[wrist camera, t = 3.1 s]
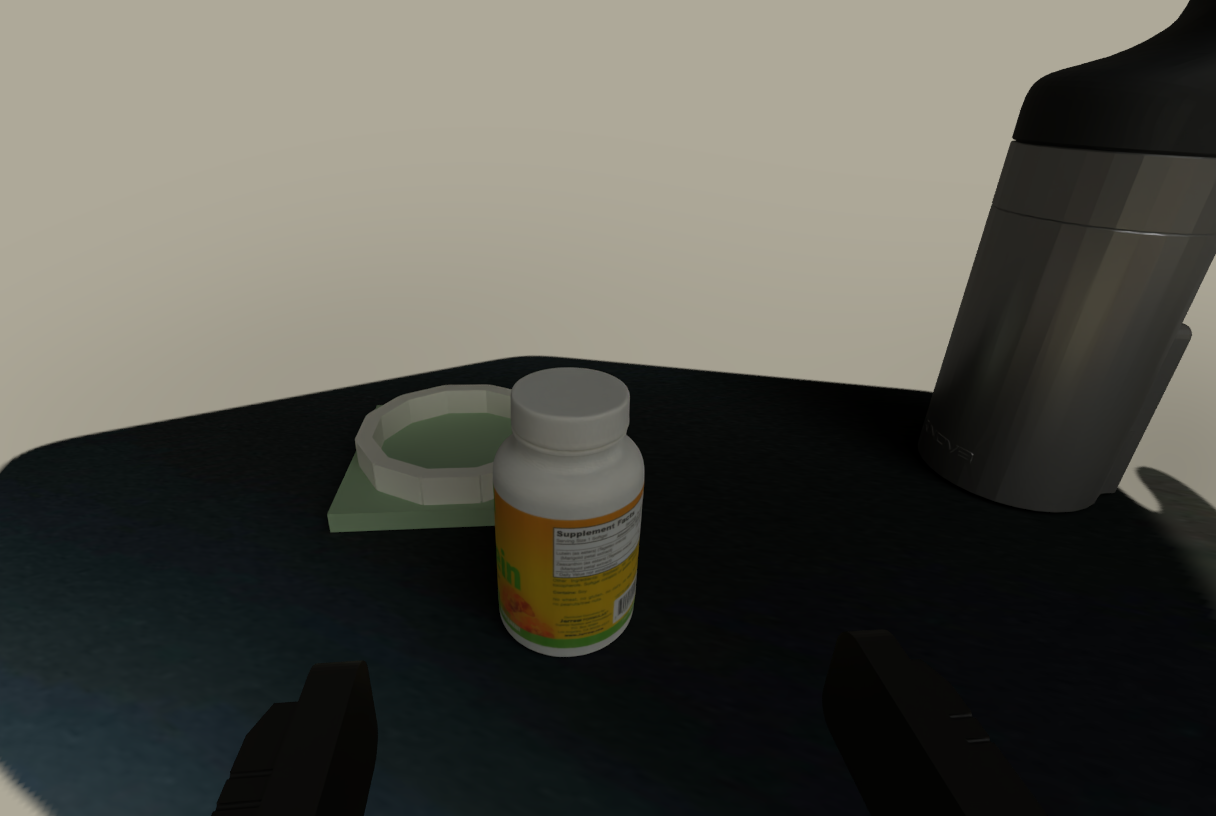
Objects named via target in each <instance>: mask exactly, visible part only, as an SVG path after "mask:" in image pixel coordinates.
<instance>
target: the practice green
mask: <svg viewBox="0 0 1216 816" xmlns="http://www.w3.org/2000/svg"><path fill="white" fill-rule="evenodd" d="M511 434H512V429H511V389H507V388H503V387H498V386H494V385H490V386H489V385H445V386H444V385H443V386H438V387H434V388H430V389H426V390H421V391H417V392H413V393H409V394H404V395H401V396H398V397H397V398H395V399H393V400H391V401H390V402H388V403H386V404H384V405H377V407H376V409H375V410H374V411H372V412H371V413H369V414H367V415H366V417H365V419H364V421H363V423H362V425H361V427H360V430H359V432H358V434H357V436H356V438H355V444H356V452H355V455H354V457H353V459H352V461H351V463H350V466H349V468H348V470H347V472H346V474H345V477H344V479H343V481H342V483H341V485H340V487H339V490H338V492H337V494H336V496H335V498H334V501H333V503H332V505H331V507H330V509H329V512H328V514H327V517H328V522H329V527H330V532H351V531H375V530H400V529H424V528H448V527H473V526H495V515H494V496H493V462H494V458H495V455H496V452H497V450H498V448H499V447H500V446H501V444H502V443H503V442H504V440H505V439H507V438H508V437H509V436H510V435H511Z"/></svg>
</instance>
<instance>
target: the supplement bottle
mask: <svg viewBox="0 0 1216 816" xmlns="http://www.w3.org/2000/svg"><path fill="white" fill-rule="evenodd" d="M629 403H630V394H629V390H628V388H627V386H626V385H625V384H624V383H623V382H622V381H621V380H619V379H617V378H616V377H614V376H612V375H609V374H607V373H604V372H601V371H597V370H592V369H586V368H572V367H569V368H553V369H546V370H541V371H538V372H534V373H531V374H529V375H527V376H525V377H523V378H521V379H520V380H519V381H517V382H516V383H515V385H514V386H513V388H512V390H511V429H512V434H511V435H510V436H509V437H508V438H507V439H505V440H504V442H503V443H502V444H501V446H500V447H499V448H498V450H497V452H496V455H495V458H494V462H493V496H494V515H495V535H496V555H497V578H498V599H499V609H500V615H501V619H502V621H503V624H504V626H505V627H506V629H507V630H508V632H509V633H510V634H511V635H512V636H513V637H514V638H515V639H516V640H517V641H518V642H519V643H521V644H522V645H524V646H525V647H527V648H529V649H531V650H533V651H536V652H539V653H542V654H545V655H550V656H556V657H573V656H580V655H584V654H588V653H591V652H594V651H597V650H600V649H601V648H603V647H605V646H607V645H609V644H610V643H611V642H613V641H614V640H615V639H616V638H617V637H618V636H619V635H620V634H621V633H622V632H623V631H624V630H625V628H626V627H627V625H628V623H629V621H630V619H631V616H632V612H633V606H634V599H635V589H636V578H637V564H638V551H639V537H640V525H641V513H642V501H643V489H644V462H643V458H642V455H641V453H640V451H639V449H638V447H637V446H636V444H635V443H634V442H633V441H632V439H630V438H629V437H628V436H627V435H626V432H627V428H628V426H629Z"/></svg>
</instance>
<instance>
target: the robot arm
mask: <svg viewBox="0 0 1216 816" xmlns="http://www.w3.org/2000/svg"><path fill="white" fill-rule="evenodd" d="M1012 138H1013V139H1015V140H1016V141H1012V142H1011V143H1010V147H1009V150H1008V153H1007V156H1006V159H1005V163H1004V166H1003V169H1002V172H1001V176H1000V179H999V182H998V185H997V189H996V192H995V195H994V198H993V201H992V203H993V204H992V206H991V209H990V212H989V215H988V218H987V221H986V225H985V228H984V231H983V234H982V238H981V241H980V244H979V247H978V250H977V254H976V257H975V260H974V263H973V267H972V270H971V273H970V277H969V280H968V283H967V286H966V289H965V292H964V296H963V299H962V302H961V305H960V308H959V312H958V315H957V318H956V322H955V325H954V328H953V331H952V334H951V338H950V341H949V344H948V347H947V350H946V354H945V357H944V360H943V363H942V367H941V370H940V373H939V376H938V379H937V382H936V386H935V389H934V392H933V395H932V398H931V402H930V405H929V408H928V411H927V414H926V418H925V421H924V424H923V427H922V431H921V434H920V437H919V440H918V451H919V453H920V455H921V457H922V459H923V460H924V461H925V462H926V463H927V464H928V466H929V467H930V468H932V469H933V470H934V471H935V472H937V473H938V474H939V475H940V476H942V477H943V478H945V479H947V480H948V481H950V482H952V483H953V484H955V485H957V486H959V487H961V488H963V489H965V490H967V491H969V492H972V493H974V494H976V495H979V496H982V497H984V498H987V499H990V500H992V501H995V502H999V503H1003V504H1006V505H1010V506H1014V507H1018V508H1023V509H1029V510H1034V511H1044V512H1073V511H1077V510H1081V509H1085V508H1087V507H1089V506H1090V505H1092V504H1094V502H1095V501H1096V499H1097V497H1098V496H1099V495H1100V494H1103V493H1114V492H1115V491H1116V489H1117V487H1118V485H1119V483H1120V481H1121V479H1122V477H1123V475H1124V473H1125V471H1126V469H1127V467H1128V465H1129V463H1130V461H1131V459H1132V456H1133V454H1134V452H1135V450H1136V448H1137V446H1138V444H1139V442H1140V440H1141V438H1142V436H1143V434H1144V432H1145V430H1146V428H1147V426H1148V424H1149V422H1150V420H1151V418H1152V416H1153V414H1154V412H1155V410H1156V408H1157V406H1158V404H1159V402H1160V400H1161V398H1162V396H1163V394H1164V392H1165V390H1166V388H1167V386H1168V384H1169V382H1170V380H1171V378H1172V376H1173V374H1174V372H1175V370H1176V368H1177V366H1178V364H1179V362H1180V360H1181V358H1182V355H1183V353H1184V351H1185V349H1186V347H1187V345H1188V343H1189V341H1190V339H1191V336H1192V332H1191V329H1190V328H1189V326H1187V325H1185V324H1183V323H1182V322H1183V320H1184V318H1185V316H1186V314H1187V312H1188V310H1189V308H1190V306H1191V303H1192V302H1193V299H1194V297H1195V295H1196V293H1197V291H1198V289H1199V287H1200V285H1201V283H1202V281H1203V279H1204V277H1205V274H1206V272H1207V270H1208V268H1209V266H1210V264H1211V262H1212V260H1213V258H1214V256H1215V254H1216V0H1190V1H1189V3H1188V4H1187V6H1186V8H1185V9H1184V11H1183V12H1182V14H1181V15H1180V16H1179V18H1178V19H1177V20H1176V21H1175V22H1174V23H1173V24H1172V25H1171V26H1169V27H1168V28H1167V29H1165V30H1163V31H1162V32H1160V33H1158V34H1157V35H1155V36H1153V37H1152V38H1150V39H1148V40H1147V41H1145V42H1143V43H1141V44H1138V45H1136V46H1134V47H1132V48H1130V49H1127V50H1125V51H1122V52H1119V53H1117V54H1114V55H1112V56H1109V57H1106V58H1102V59H1098V60H1095V61H1091V62H1088V63H1084V64H1081V65H1077V66H1073V67H1070V68H1066V69H1062V70H1059V71H1056V72H1053V73H1050V74H1048V75H1046V76H1044V77H1042V78H1040V79H1039V80H1038V81H1037V82H1035V83H1034V84H1033V86H1032V87H1031V88H1030V90H1029V92H1028V93H1027V95H1026V97H1025V100H1024V102H1023V105H1022V107H1021V110H1020V114H1019V117H1018V120H1017V123H1016V127H1015V130H1014V133H1013V136H1012ZM822 704H823V711H824V716H825V720H826V723H827V726H828V728H829V731H830V733H831V735H832V737H833V739H834V741H835V743H836V745H837V747H838V749H839V751H840V753H841V755H842V757H843V759H844V761H845V763H846V765H847V767H848V770H849V772H850V774H851V776H852V778H853V780H854V782H855V784H856V786H857V788H858V790H859V792H860V794H861V796H862V798H863V800H864V802H865V804H866V806H867V808H868V810H869V812H870V814H871V816H1048V815H1047V814H1046V812H1045V811H1044V810H1043V808H1042V807H1041V806H1040V804H1039V803H1038V802H1037V800H1036V799H1035V798H1034V796H1033V795H1032V793H1031V792H1030V791H1029V789H1028V788H1027V787H1026V785H1025V784H1024V783H1023V781H1022V780H1021V779H1020V777H1019V776H1018V774H1017V773H1016V772H1015V770H1014V769H1013V768H1012V766H1011V765H1010V764H1009V762H1008V761H1007V760H1006V758H1005V757H1004V755H1003V754H1002V753H1001V751H1000V750H999V749H998V747H997V746H996V745H995V743H991V742H990V740H989V735H988V734H987V732H986V731H985V730H984V728H983V727H982V726H981V724H980V723H979V722H978V720H977V719H976V718H973V717H972V715H971V711H970V709H969V708H968V707H967V705H966V704H965V703H964V701H963V700H962V699H961V697H960V696H959V694H958V693H957V692H956V690H955V689H954V688H953V686H952V685H951V684H950V683H949V682H948V681H947V680H946V679H944V678H943V677H942V676H941V675H940V674H938V673H937V672H936V671H935V670H933V669H932V668H931V667H930V666H929V665H927V664H926V663H925V662H924V661H922V660H921V659H918V660H910V658H909V657H908V656H907V654H906V653H905V651H904V650H903V648H902V647H901V645H900V644H899V643H898V641H897V640H896V638H895V637H894V636H893V635H892V634H891V633H890V632H889V631H887V630H884V629H880V630H864V631H849V632H842V633H841V634H840V635H839V637H838V639H837V642H836V646H835V650H834V653H833V657H832V660H831V664H830V667H829V671H828V674H827V678H826V681H825V685H824V688H823V694H822ZM377 741H378V728H377V719H376V713H375V707H374V701H373V696H372V690H371V684H370V678H369V672H368V667H367V664H366V662H365V661H350V662H334V663H318V664H315V665H314V666H313V667H312V668H311V670H310V672H309V674H308V677H307V679H306V682H305V685H304V687H303V690H302V693H301V696H300V698H299V701H298V702H285V703H274V704H273V705H272V706H271V707H270V709H269V710H268V711H267V712H266V713H265V714H264V715H263V717H262V718H261V719H260V720H259V721H258V722H257V723H256V725H255V726H254V727H253V728H252V729H251V730H250V732H249V733H248V734H247V735H246V737H245V739H244V741H243V744H242V746H241V748H240V751H239V753H238V755H237V758H236V760H235V762H234V764H233V767H232V769H231V771H230V778H229V780H227V781H226V783H225V785H224V787H223V790H222V792H221V794H220V797H219V799H218V801H217V808H216V810H215V811H214V812H213V813H212V815H211V816H364V812H365V808H366V803H367V798H368V794H369V789H370V785H371V780H372V776H373V771H374V766H375V761H376V754H377Z"/></svg>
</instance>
